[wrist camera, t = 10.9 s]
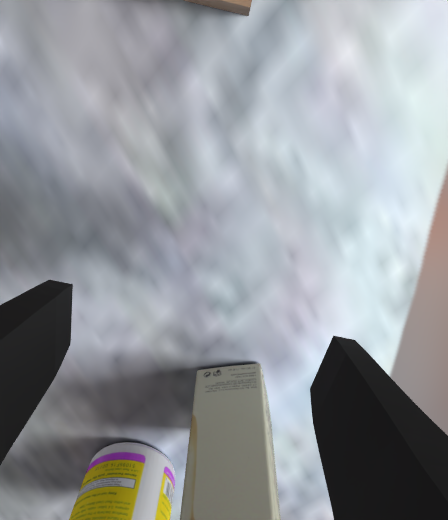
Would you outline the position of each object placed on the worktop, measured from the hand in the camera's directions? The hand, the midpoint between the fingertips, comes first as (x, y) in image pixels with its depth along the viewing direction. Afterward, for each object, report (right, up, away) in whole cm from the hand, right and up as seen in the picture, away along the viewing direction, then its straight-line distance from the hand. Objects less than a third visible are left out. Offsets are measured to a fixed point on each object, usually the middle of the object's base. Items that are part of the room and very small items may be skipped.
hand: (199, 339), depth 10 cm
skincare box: (+2, -7, +16) cm, 17 cm away
